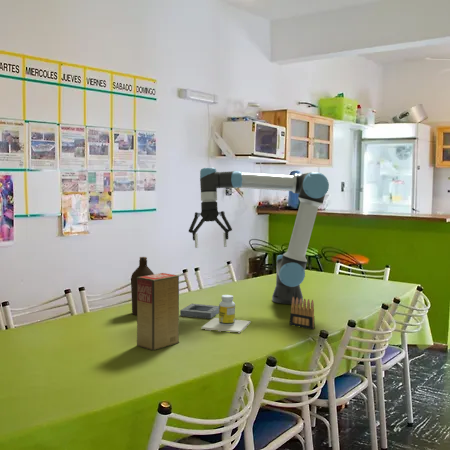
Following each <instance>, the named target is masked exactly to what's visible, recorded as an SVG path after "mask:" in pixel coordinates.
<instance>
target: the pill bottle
mask: <svg viewBox="0 0 450 450" xmlns="http://www.w3.org/2000/svg"><path fill="white" fill-rule="evenodd" d="M233 300H234V295H233V294H222V295H221V301H220V302H219V304H218V306H219V313H218V318H219V324H221V325H225V326H230V325H233V324H234V323H235V320H236V318H235V317H236V303H235V301H233Z"/></svg>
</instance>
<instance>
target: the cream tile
mask: <svg viewBox="0 0 450 450" xmlns="http://www.w3.org/2000/svg"><path fill="white" fill-rule="evenodd" d="M251 322H252V321H251V320H241V319H235V323H234V324H233V325H230V326H225V325H221V324H219V317H213V318H211V319H209V321H208V322H206V323H205V324H203V325H202V326H201V330H202V329H205V330H204V331H211V330H218V331H217V332H221V331H230V332H238V333H237V334H241V333H242V332H243V331H245V329H246V328H248V327H249V326H250V325H251V324H252V323H251ZM250 323H251V324H250ZM249 324H250V325H249ZM248 325H249V326H248ZM247 326H248V327H247ZM242 330H243V331H242ZM241 331H242V332H241ZM230 332H229V333H230ZM240 332H241V333H240Z"/></svg>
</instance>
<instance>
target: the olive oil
mask: <svg viewBox="0 0 450 450" xmlns="http://www.w3.org/2000/svg"><path fill="white" fill-rule="evenodd" d="M138 263H139V264H138V265H139V266H138V267H136V268H135V270H134V271H133V272H132V274H131V277H130V285H131V286H130V287H131V288H130V289H131V291H130V292H131V313H132V315H134V316H137V277H142V276H148V275H154V274H155V273H154V272H153V270H152V269H151V268H150V267H149V266H148V257H147V256H139V261H138Z"/></svg>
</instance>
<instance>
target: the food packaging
mask: <svg viewBox="0 0 450 450" xmlns="http://www.w3.org/2000/svg"><path fill="white" fill-rule="evenodd" d="M179 279H180V276H179V274H178V275H177V274H170V273H166V272H160V273H156V274H155V273H154V275H148V276H142V277H137V315H136V325H137V326H136V347H140V348H143V349H147V350H150V351H156V349H157V350H160V349H164V348H166V346H167V347H169V345H170V346H173V345H177V344H179V343H180V337H179V336H180V335H179V334H180V333H179V331H180V330H179V329H180V322H179V321H180V319H179V318H180V314H179V313H180V311H179V310H180V309H179V307H180V306H179V305H180V301H179V300H180V299H179V298H180V297H179V296H180V295H179V294H180V285H179V284H180V280H179ZM172 344H173V345H172ZM163 347H164V348H163Z"/></svg>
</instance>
